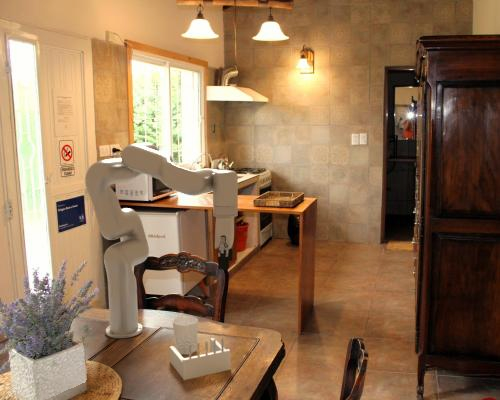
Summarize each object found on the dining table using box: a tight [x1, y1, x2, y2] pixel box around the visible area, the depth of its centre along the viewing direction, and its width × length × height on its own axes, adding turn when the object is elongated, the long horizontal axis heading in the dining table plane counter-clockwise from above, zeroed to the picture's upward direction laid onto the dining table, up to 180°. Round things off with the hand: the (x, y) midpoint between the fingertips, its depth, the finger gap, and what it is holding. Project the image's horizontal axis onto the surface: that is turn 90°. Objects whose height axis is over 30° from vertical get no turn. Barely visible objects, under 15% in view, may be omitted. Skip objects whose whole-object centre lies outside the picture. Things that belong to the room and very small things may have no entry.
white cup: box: [172, 315, 199, 355], centre depth 173 cm, size 8×8×10 cm
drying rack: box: [169, 337, 232, 381], centre depth 162 cm, size 13×14×10 cm
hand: (225, 264), depth 169 cm, fingers open, 9 cm apart
